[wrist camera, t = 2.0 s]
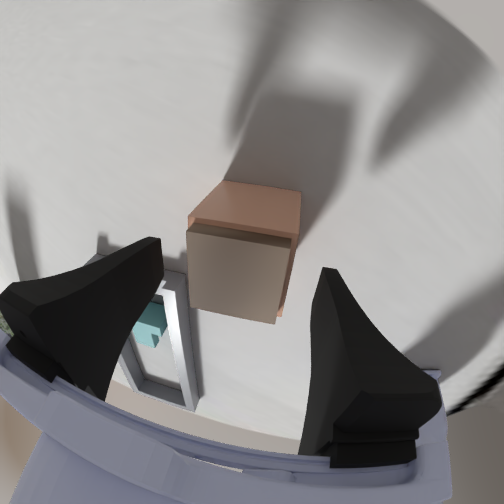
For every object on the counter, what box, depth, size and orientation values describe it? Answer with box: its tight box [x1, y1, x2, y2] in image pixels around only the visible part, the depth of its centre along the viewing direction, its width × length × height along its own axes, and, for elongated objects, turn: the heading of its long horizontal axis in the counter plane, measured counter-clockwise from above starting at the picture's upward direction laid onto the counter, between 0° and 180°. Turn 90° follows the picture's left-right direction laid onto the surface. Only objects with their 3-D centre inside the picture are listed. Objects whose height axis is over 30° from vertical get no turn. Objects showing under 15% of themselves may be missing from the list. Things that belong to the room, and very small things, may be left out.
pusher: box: [133, 302, 168, 348], centre depth 22 cm, size 6×5×2 cm
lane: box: [84, 254, 199, 412], centre depth 24 cm, size 8×20×2 cm, turn 175°
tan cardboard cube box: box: [186, 180, 301, 324], centre depth 14 cm, size 4×4×6 cm
